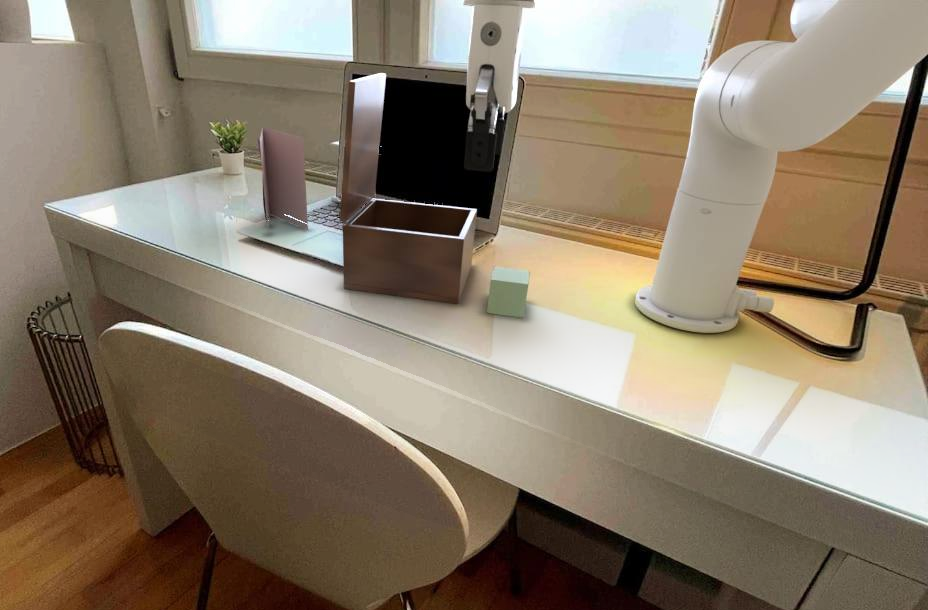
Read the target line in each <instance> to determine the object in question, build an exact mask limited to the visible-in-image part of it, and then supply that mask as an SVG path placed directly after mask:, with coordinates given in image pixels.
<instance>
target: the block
mask: <svg viewBox="0 0 928 610" xmlns="http://www.w3.org/2000/svg"><path fill="white" fill-rule="evenodd" d="M530 273H531V271H530V270H528V269H521V268H520V269H519V268H511V267H504V266H496V265H494V266H493V269H492V273H491V276H490V277H491V278H490V284H489V290H488V291H489V292H488V299H487V309H486V313H487V314H492V315H498V316H506V317H507V316H508V317H515V318H521V319H524V315H525V311H526V310H525V309H526V303H527V298H528V297H527V296H528V292H529V291H528V290H529V283H530V275H531V274H530Z"/></svg>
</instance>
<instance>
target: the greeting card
mask: <svg viewBox="0 0 928 610" xmlns="http://www.w3.org/2000/svg"><path fill="white" fill-rule="evenodd" d="M257 143H258V151H259V156H260V163H261V171H262V172H261V173H262V175H261V176H262V206H263V212H264V217H265V222H266V228H268V229H267V233H269V232H270V221H271V220H270V219H271V216H273V217H275V218H278V219H280V220H283V221H284V222H287V223H289V224H292V225H294V226H297V227H299V228H302V229H303V230H305V231H309V222H308V221H309V220H308V202H307V182H306V181H307V180H306V164H305V163H306V162H305V147H304V145H305V141H304V137H301V136H297V135H294V134H288V133H286V132H283V131H278V130H275V129H270V128H267V127H263V126H262V127H261V132H260V137H259V138H257ZM284 214H286V215H290V216H292V217H294V218H296V219H298V220H301V221H303V222H305V223H307V224H308V225H307V224H305V223H302V222H300V221H297V220H295V219H293V218H290V217H288V216H285V215H284ZM268 220H269V221H268Z"/></svg>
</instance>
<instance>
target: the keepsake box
mask: <svg viewBox="0 0 928 610" xmlns="http://www.w3.org/2000/svg"><path fill="white" fill-rule="evenodd" d="M477 213H478V209H477V208H470V207H469V208H468V207H459V206H452V205H443V204H442V205H438V204H434V205H433V204H425V203H421V202H415V201H414V202H404V200H403V201H402V200H395V199H394V200H385V198H376V197H375V198H372V199H371V200H370V201H369V202H368V203H367V204H366V205H364V206H363V207H362V208H360V209H359V210H358V211H357V212H356V213H355V214H354V215H353V216H352V217H351V218H350V219H349V220H347V221H346V222H344V224H342V259H343V260H342V261H343V262H342V266H343V268H342V269H343V289H345V290H352V291H358V292H366V293H374V294H381V295H388V296H396V297H404V298H411V299H418V300H425V301H426V300H427V301H434V302H439V303H448V304H455V305H458V304H459V303H460V300H461V297H462V294H463V291H464V289H465V287H466V286H465V285H466V282H467V281H468V277H469V274H470V272H471V269H472V266H473V265H472V263H473V253H474V246H475V245H474V244H475V234H476V225H477V215H478V214H477Z"/></svg>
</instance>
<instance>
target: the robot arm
mask: <svg viewBox="0 0 928 610" xmlns="http://www.w3.org/2000/svg"><path fill="white" fill-rule="evenodd" d="M461 6H464V7H465V6H467V7H472V9H471V10H472V11H471V21H470V32H469V33H470V34H469V43H468V55H467V70H466V88H465V89H466V92H465V105H466V107H467V108H468V110H470V113H469V118H468V123H467V130H466V132H465V133H466V135H465V147H464V160H463V168H464V169H465V170H466V171H477V172H486V173H487V172H489V173H490V172H492V171H493V170H494V167H495V156H496V155H501V153H502V151H503V142H504V131H505V124H506V123H505V122H506V119H504V117H505V113H507V114H508V113H509V112H511V111H512V110H513V109H514V107H515V105H516V104H517V97H518V84H519V76H520V68H521V67H520V65H521V56H522V48H523V37H524V20H525V9H535V7H536V0H462V1H461ZM791 7H792V8H791V11H790V17H789V23H790V29H791V32H792V34H793V36H794V37H795V39H796V40H795V41H794V42H793V41H785V40H753V41H747V42H744V43H741V44H738V45H735V46H733V47H732V48H730V49H728V50H726V51H725V52H723V53H722V54H720V55H719V56H718V57H717V58H716V59H715V60H714V61H713V62H712V63H711V64H710V66H709V67H708V68H707V70H706V71H705V73H704V74H703V76H702V79H701V80H700V82H699V85H698V88H697V91H696V95H695V100H694V104H693V112H692V121H691V128H690V135H689V142H688V148H687V152H686V156H685V161H684V165H683V169H682V172H681V177H680V181H679V184H678V187H677V190H676V194H675V197H674V201H673V205H672V209H671V211H670V212H671V213H670V216H669V220H668V222H667V223H668V224H667V227H666V229H665V230H666V231H665V234H664V238H663V242H662V245H661V249H660V253H659V257H658V260H657V264H656V267H655V271H654V275H653V278H652V282H651V285H648V286H644V287H642V288H640V289H639V290H638V291H637V292H636V294H635V299H634V305H635V306H636V308H637V309H638V310H639V312H640V313H642V314H643V315H645V316H646V317H647V318H649V319H651V320H653V321H655V322H657V323H659V324H662V325H665V326H668V327H669V328H674V329H678V330H682V331H686V332H692V333H699V334H700V333H701V334H717V333H724V332H728V331H730V330H732V329H734V328H735V327H736V326H737V325H738V321H739V319H740V313H739V312H743V311H744V310H751V311H753V312H759V313H767V314H768V313H771V312H772V311H773V309H774V304H775V300H774V298H773V297H770V296H769V297H768V296H761V295H757V291H756V290H753V289H740V288H739V286H738V285H737V282H738V281H739V277H740V274H741V272H742V270H743V266H744V263H745V260H746V257H747V255H748V252H749V249H750V246H751V243H752V240H753V238H754V235H755V232H756V229H757V226H758V225H759V224H758V223H759V220H760V217H761V215H762V212H763V209H764V207H765V203H766V201H767V199H768V196H769V194H770V190H771V187H772V185H773V181H774V177H775V175H776V174H775V173H776V167H777V163H778V153H780V152H781V153H785V152H786V153H787V152H796V151H800V150H804V149H806V148H809V147H812V146H814V145H816V144H819V143H820V142H822V141H823V140H825V139H826V138H828V137H829V136H831V135H833V134H834V133H836V132H837V131H839V130H840V129H841V128H842V127H843V126H845V125H846V124H847V123H848V122H850V121H851V120H852V119H854V117H856V116H857V115H858V114H859V113H861V112H862V111H863V110H864V109H865V108H866V107H868V106H869V105H870V104H871V103H872V102H873V101H875V100H876V99H878V97H879V96H881V95H882V94H883V93H884V92H885V91H887V89H889V88H890V87H892V85H893V84H895V83H896V82H897V81H898V80H900V79H901V78H902V77H903V76H904V75H906V73H908V72H909V71H910V70H911V69H912V68H914V67H915V66H916V65H917V64H918V63H920V62H921V61H922V60H923V59H924V58H925V57H926V56H927V55H928V0H794V2H793V4H792V6H791Z"/></svg>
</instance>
